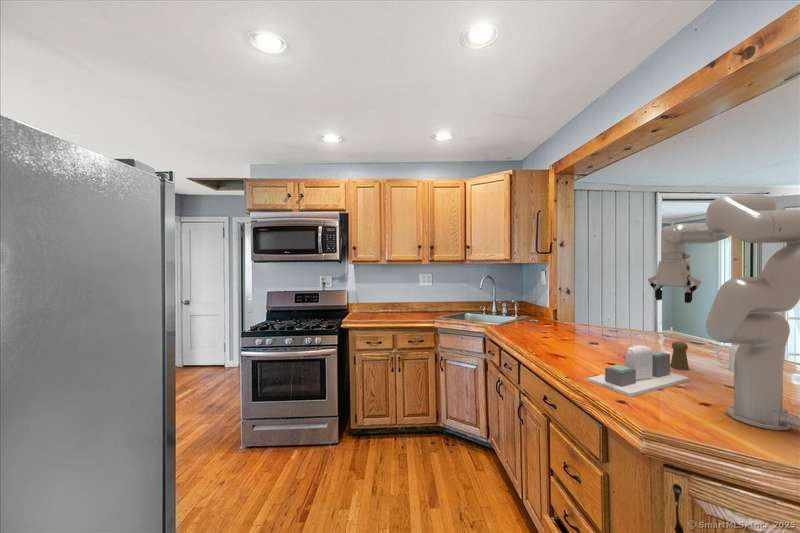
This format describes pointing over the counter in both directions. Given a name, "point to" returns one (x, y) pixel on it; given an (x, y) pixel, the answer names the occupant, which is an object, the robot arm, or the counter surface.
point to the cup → (731, 355)
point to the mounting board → (627, 384)
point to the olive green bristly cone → (679, 356)
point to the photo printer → (640, 361)
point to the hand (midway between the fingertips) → (672, 301)
